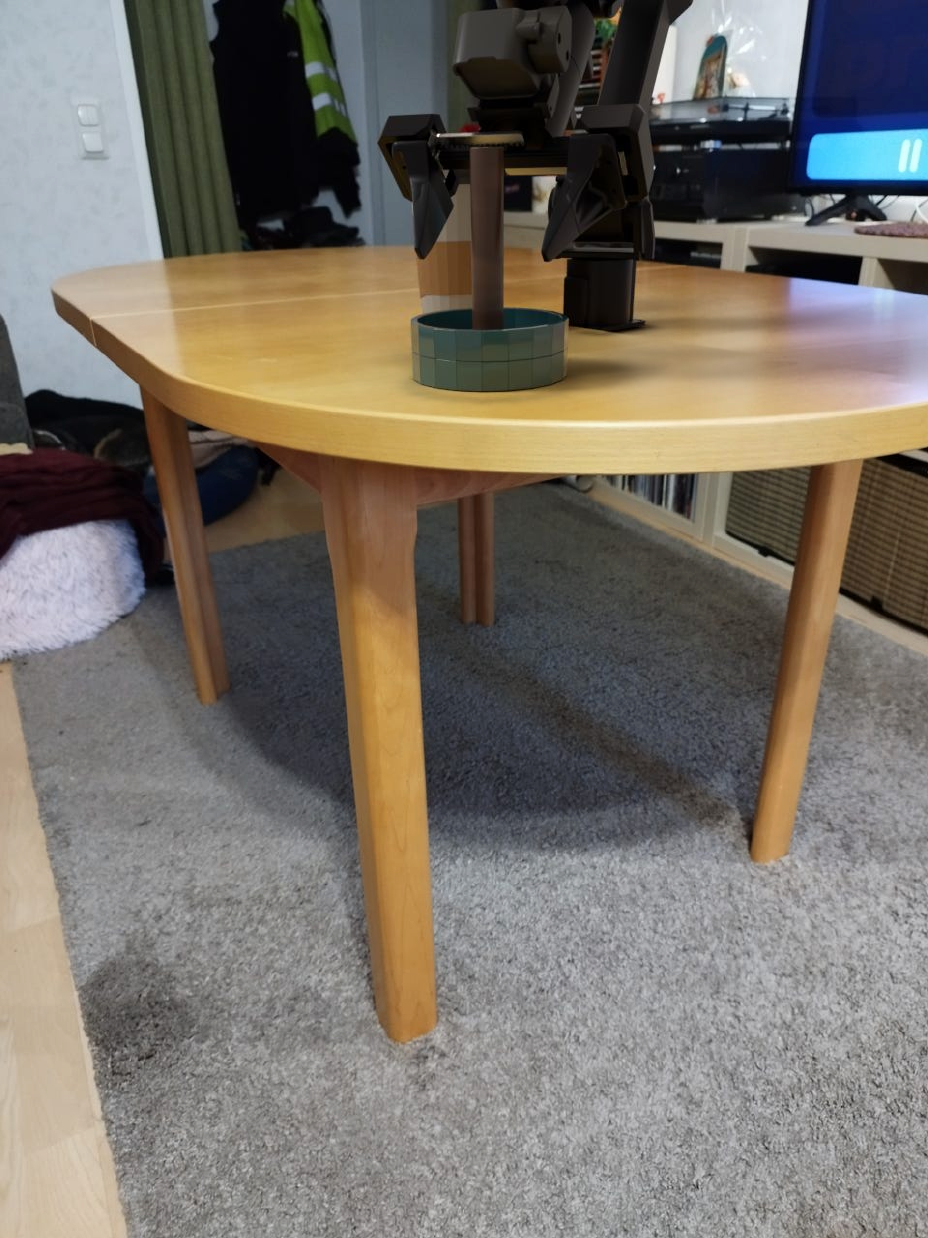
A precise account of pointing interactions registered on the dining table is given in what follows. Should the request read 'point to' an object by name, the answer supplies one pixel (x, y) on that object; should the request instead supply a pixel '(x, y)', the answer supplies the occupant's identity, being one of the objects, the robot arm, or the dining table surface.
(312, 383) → the dining table surface
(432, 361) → the bowl
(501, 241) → the stick
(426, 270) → the coffee cup
